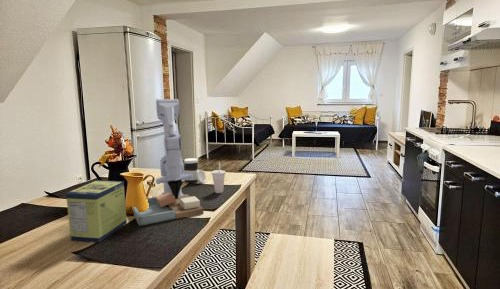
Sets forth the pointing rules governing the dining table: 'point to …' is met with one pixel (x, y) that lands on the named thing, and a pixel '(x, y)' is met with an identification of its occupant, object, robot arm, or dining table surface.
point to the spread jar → (193, 171)
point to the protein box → (96, 210)
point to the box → (153, 213)
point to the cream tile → (189, 202)
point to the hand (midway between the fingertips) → (175, 198)
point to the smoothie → (218, 180)
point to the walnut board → (182, 212)
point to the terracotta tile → (165, 199)
